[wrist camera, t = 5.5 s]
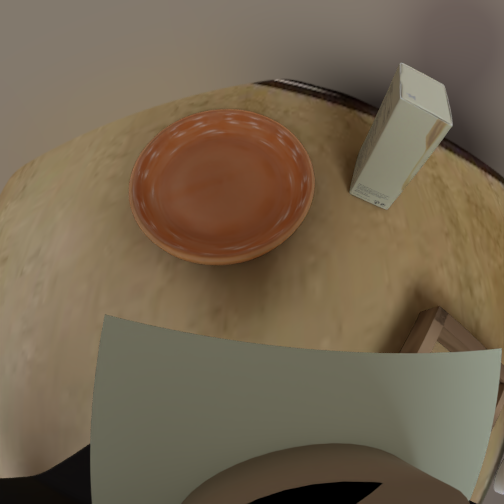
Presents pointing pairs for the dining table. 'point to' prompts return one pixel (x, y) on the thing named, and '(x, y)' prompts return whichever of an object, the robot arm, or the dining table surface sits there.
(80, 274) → the dining table surface
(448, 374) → the block
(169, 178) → the saucer
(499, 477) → the pill bottle
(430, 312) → the box
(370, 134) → the skincare box
